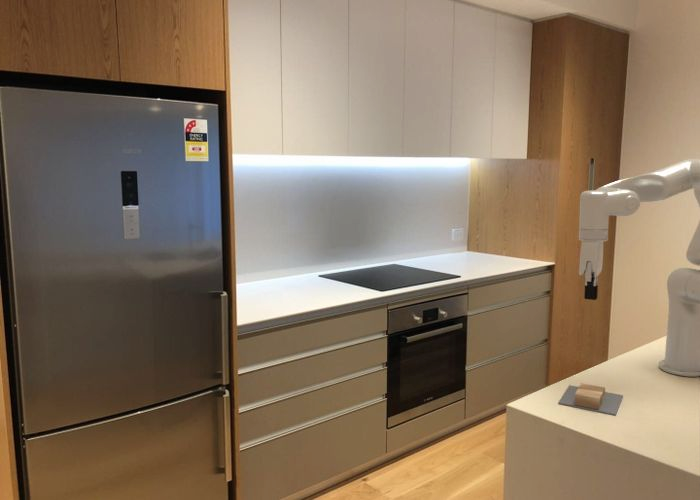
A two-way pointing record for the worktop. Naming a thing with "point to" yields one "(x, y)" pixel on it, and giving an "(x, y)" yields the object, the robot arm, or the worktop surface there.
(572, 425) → the worktop surface
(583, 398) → the oak slab
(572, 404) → the rubber mat
